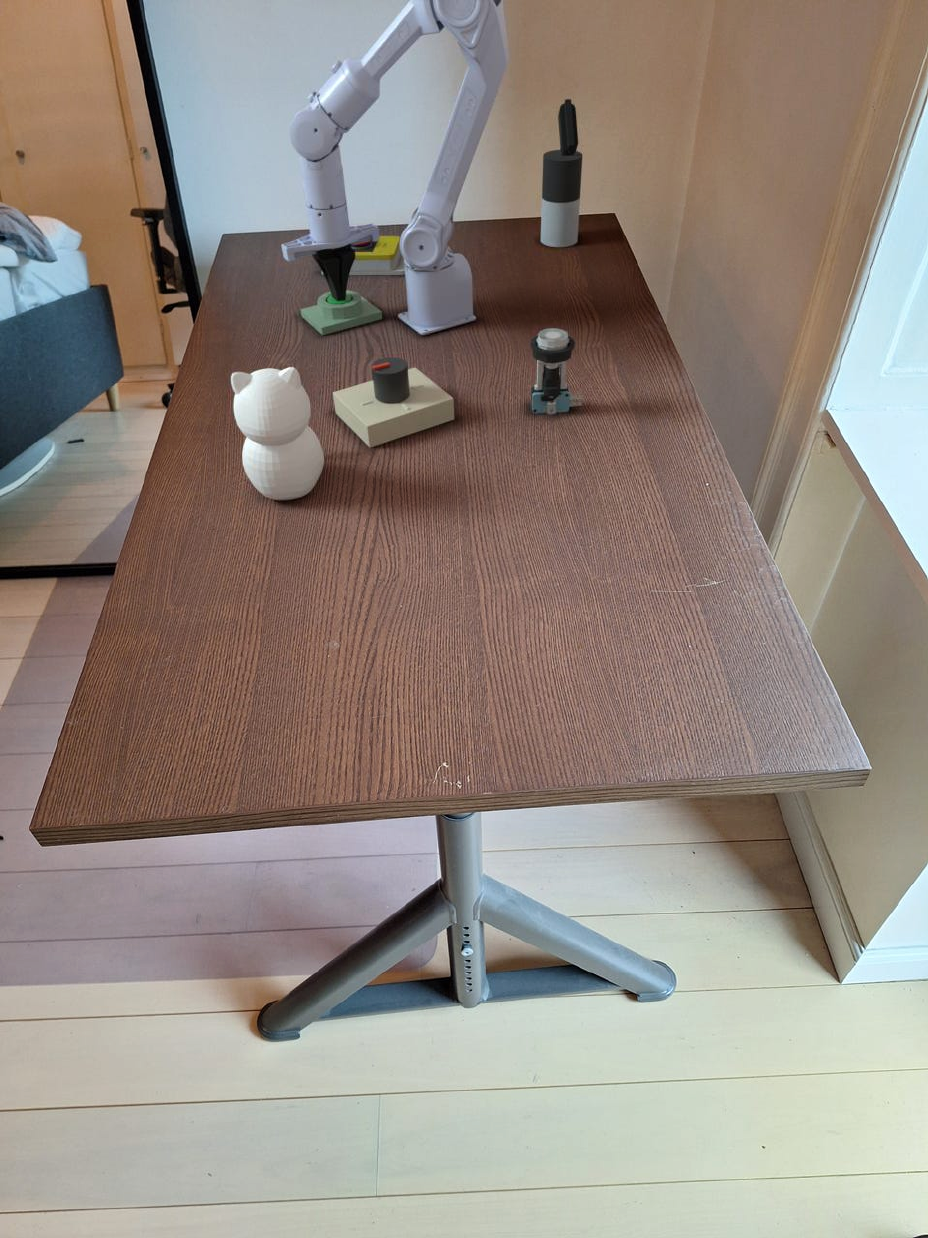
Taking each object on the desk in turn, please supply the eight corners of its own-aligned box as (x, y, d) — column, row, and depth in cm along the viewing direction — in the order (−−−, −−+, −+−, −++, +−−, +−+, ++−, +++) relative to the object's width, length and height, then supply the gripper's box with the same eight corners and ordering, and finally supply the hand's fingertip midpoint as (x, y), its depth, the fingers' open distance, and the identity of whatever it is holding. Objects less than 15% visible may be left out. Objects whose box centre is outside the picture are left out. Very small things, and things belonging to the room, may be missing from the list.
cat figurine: (247, 515, 94) (216, 392, 84) (252, 455, 103) (225, 337, 93) (328, 507, 95) (307, 384, 84) (326, 447, 104) (307, 330, 93)
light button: (346, 302, 132) (344, 291, 131) (356, 310, 130) (355, 299, 128) (325, 308, 131) (323, 296, 129) (334, 316, 128) (333, 304, 127)
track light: (540, 259, 154) (555, 202, 134) (533, 167, 154) (547, 97, 134) (576, 257, 154) (596, 200, 134) (569, 165, 155) (588, 94, 135)
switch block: (359, 301, 135) (357, 282, 133) (382, 318, 130) (380, 299, 128) (301, 316, 132) (298, 297, 130) (322, 335, 127) (319, 315, 125)
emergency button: (327, 228, 147) (413, 227, 146) (330, 254, 150) (414, 253, 149) (316, 248, 141) (406, 247, 139) (320, 274, 144) (408, 274, 142)
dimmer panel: (416, 387, 114) (415, 365, 112) (454, 419, 108) (453, 396, 106) (335, 413, 110) (332, 391, 108) (369, 448, 103) (367, 425, 101)
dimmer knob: (401, 383, 109) (398, 351, 106) (415, 398, 106) (412, 365, 103) (369, 391, 107) (365, 359, 105) (382, 406, 105) (379, 374, 102)
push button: (578, 397, 111) (583, 323, 104) (583, 418, 107) (589, 343, 100) (527, 399, 111) (528, 325, 104) (530, 420, 107) (532, 345, 100)
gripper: (360, 185, 125) (370, 278, 134) (267, 205, 119) (284, 300, 129) (382, 198, 120) (390, 293, 129) (286, 219, 115) (302, 316, 124)
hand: (339, 298), depth 129 cm, fingers closed, pressing on light button
